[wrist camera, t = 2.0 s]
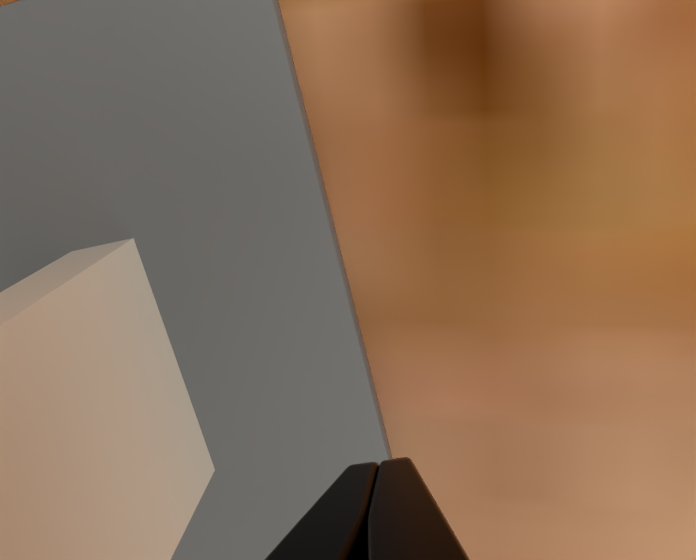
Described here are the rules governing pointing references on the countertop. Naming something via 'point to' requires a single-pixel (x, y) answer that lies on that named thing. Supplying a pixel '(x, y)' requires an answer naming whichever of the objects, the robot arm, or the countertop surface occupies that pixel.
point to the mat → (198, 233)
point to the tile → (93, 416)
